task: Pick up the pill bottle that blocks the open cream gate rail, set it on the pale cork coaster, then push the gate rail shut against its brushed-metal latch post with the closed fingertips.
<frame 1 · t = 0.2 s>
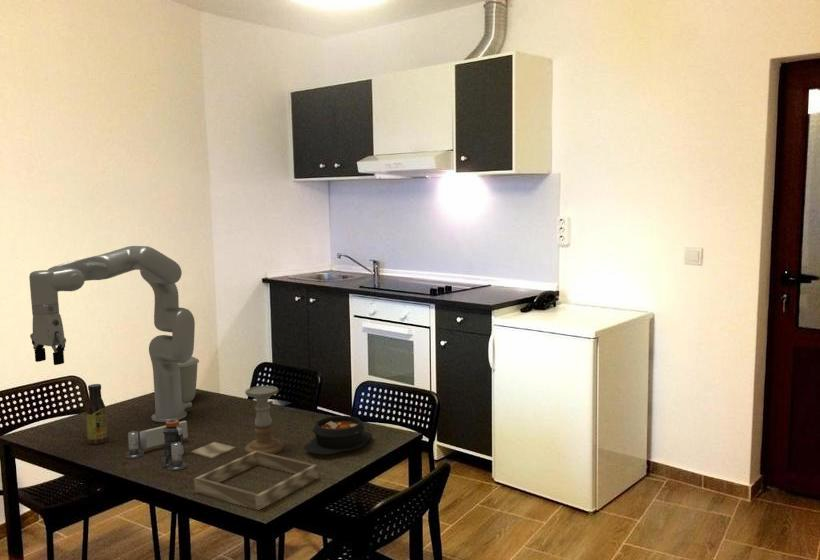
hand: (49, 362, 218), 31 cm above the table, fingers open, 9 cm apart
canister: (178, 402, 281), on the table
gate: (163, 434, 228), point 4 cm above the table, hinge at 75.0°
coaster: (213, 451, 224), on the table
pill bottle: (174, 455, 221), on the table
gate posts: (134, 455, 221), on the table
sauce bottle: (97, 442, 234), on the table
candle holder: (264, 450, 224), on the table
casserole: (339, 447, 226), on the table
square wooden frame: (257, 484, 196), on the table
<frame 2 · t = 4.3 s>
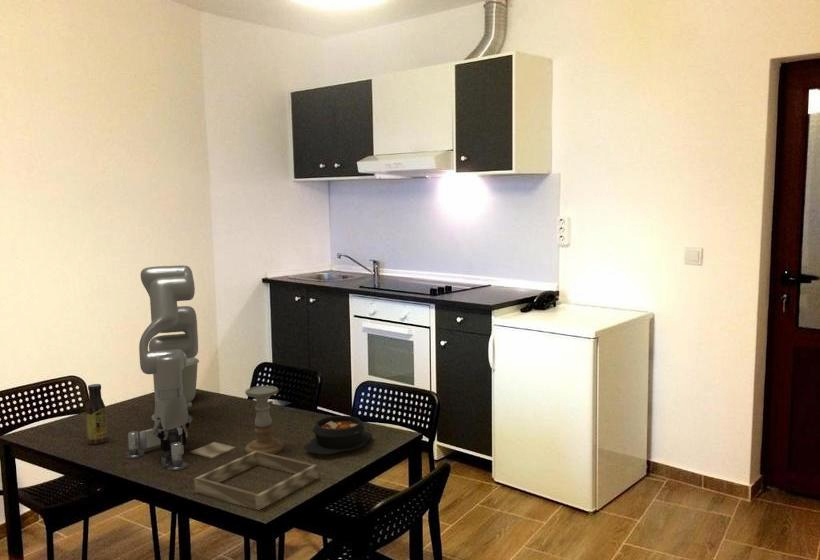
hand: (173, 447, 221), 3 cm above the table, fingers closed on pill bottle, 6 cm apart
pill bottle: (174, 455, 221), on the table, touching gripper
everything else where it was.
when the fingers open (4 cm above the table, at t = 9.3 s): pill bottle stays where it is, resting on coaster.
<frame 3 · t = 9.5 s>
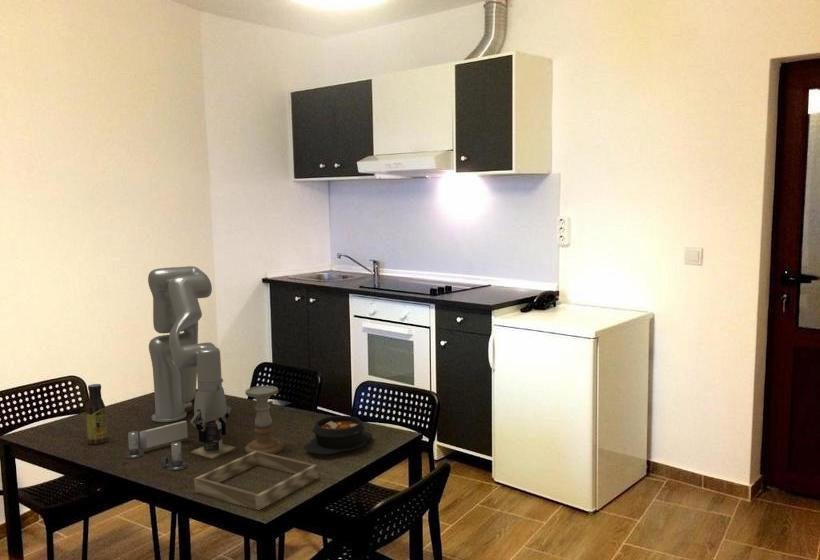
hand: (212, 437, 223), 4 cm above the table, fingers open, 7 cm apart
pill bottle: (213, 449, 224), resting on coaster
everything else where it was.
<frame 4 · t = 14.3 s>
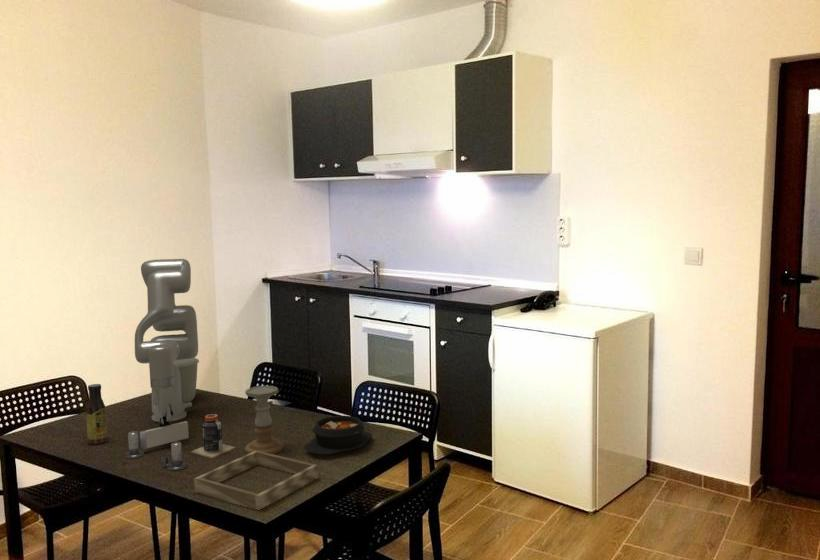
hand: (165, 434, 231), 3 cm above the table, fingers closed
gate: (164, 435, 227), point 4 cm above the table, hinge at 72.3°, touching gripper
everything else where it was.
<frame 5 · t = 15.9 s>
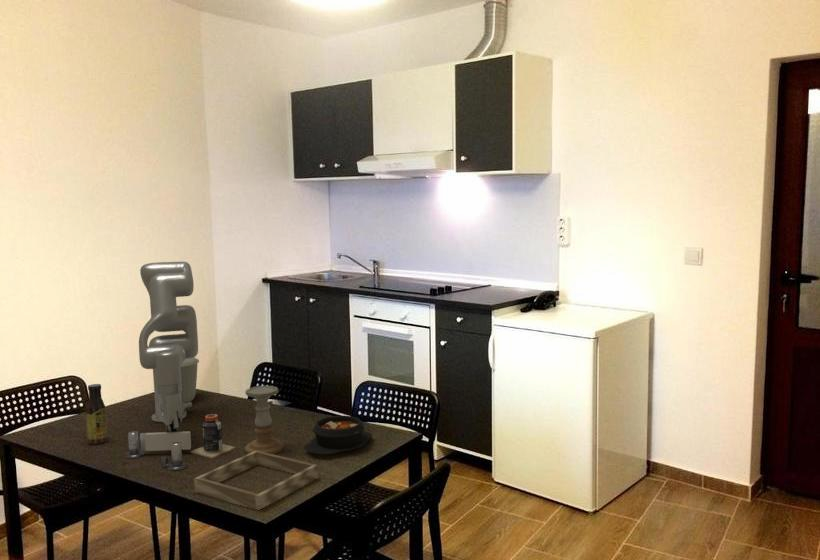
hand: (172, 441, 225), 3 cm above the table, fingers closed
gate: (165, 441, 221), point 4 cm above the table, hinge at 34.8°, touching gripper
everything else where it was.
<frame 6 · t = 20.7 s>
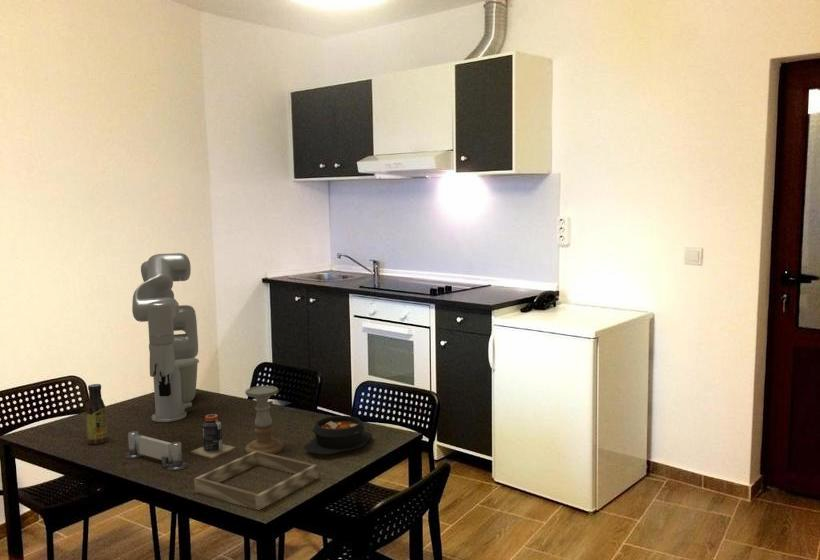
hand: (165, 395, 221), 19 cm above the table, fingers closed
gate: (153, 447, 215), point 4 cm above the table, hinge at -0.9°
everything else where it was.
at the end: gate at -1° (first picture: +75°); pill bottle 0.2 cm from the coaster (horizontally); pill bottle tilted 0° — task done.
